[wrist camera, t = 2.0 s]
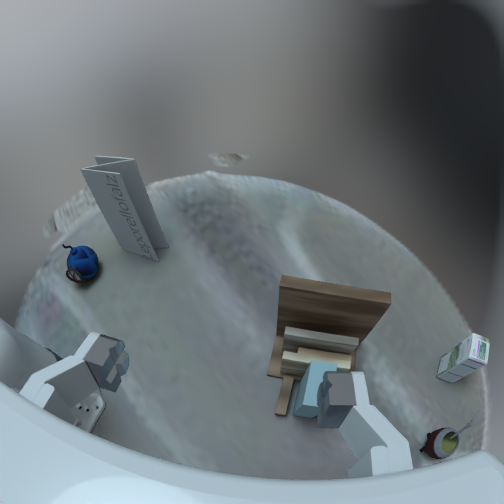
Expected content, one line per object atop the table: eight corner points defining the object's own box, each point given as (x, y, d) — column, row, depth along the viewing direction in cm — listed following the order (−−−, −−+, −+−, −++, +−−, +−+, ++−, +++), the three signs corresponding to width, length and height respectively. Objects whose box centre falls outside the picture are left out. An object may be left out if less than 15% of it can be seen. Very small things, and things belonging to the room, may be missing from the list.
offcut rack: (344, 424, 47) (384, 412, 30) (257, 410, 50) (252, 393, 33) (355, 342, 58) (391, 292, 41) (278, 329, 62) (282, 274, 44)
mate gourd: (421, 464, 38) (460, 463, 26) (414, 435, 42) (451, 428, 31) (447, 449, 38) (487, 443, 26) (439, 421, 43) (479, 409, 31)
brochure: (122, 249, 79) (80, 169, 55) (132, 235, 82) (94, 155, 58) (158, 261, 75) (119, 174, 52) (168, 247, 78) (134, 158, 55)
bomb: (71, 287, 71) (44, 257, 59) (84, 258, 77) (62, 226, 66) (95, 291, 70) (68, 259, 58) (108, 260, 76) (86, 226, 65)
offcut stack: (338, 382, 52) (355, 366, 42) (277, 372, 54) (279, 354, 44) (341, 359, 55) (358, 338, 45) (282, 350, 57) (285, 326, 47)
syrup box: (452, 383, 48) (488, 364, 37) (434, 377, 50) (469, 356, 39) (457, 362, 51) (491, 339, 40) (439, 356, 53) (472, 331, 42)
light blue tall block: (311, 418, 49) (329, 408, 34) (292, 415, 49) (302, 404, 35) (317, 386, 53) (337, 363, 39) (299, 383, 53) (311, 360, 39)
